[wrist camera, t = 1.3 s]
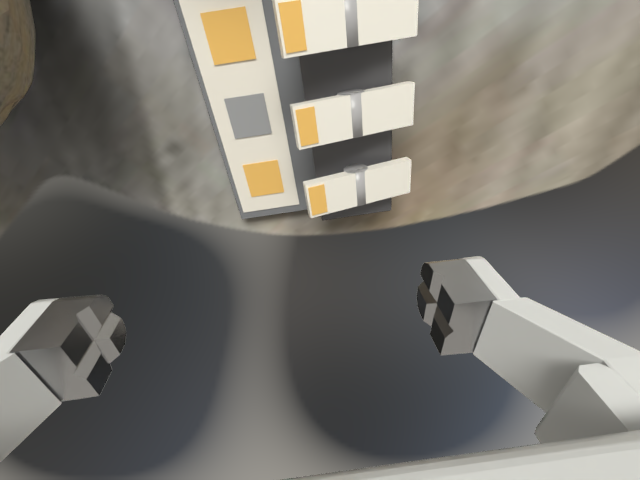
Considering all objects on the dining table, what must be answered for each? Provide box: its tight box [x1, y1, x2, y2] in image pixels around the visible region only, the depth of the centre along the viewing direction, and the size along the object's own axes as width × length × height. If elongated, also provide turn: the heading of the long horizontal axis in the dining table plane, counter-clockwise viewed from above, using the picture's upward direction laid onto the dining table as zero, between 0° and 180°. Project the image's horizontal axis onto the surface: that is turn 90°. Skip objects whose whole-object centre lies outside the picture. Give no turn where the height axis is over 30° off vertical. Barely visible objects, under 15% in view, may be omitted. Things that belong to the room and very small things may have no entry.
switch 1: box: [272, 0, 418, 58], centre depth 24 cm, size 11×4×2 cm, turn 97°
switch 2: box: [290, 81, 415, 150], centre depth 28 cm, size 11×4×2 cm, turn 97°
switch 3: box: [303, 157, 411, 218], centre depth 32 cm, size 11×4×2 cm, turn 97°
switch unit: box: [173, 0, 392, 220], centre depth 32 cm, size 18×24×6 cm
